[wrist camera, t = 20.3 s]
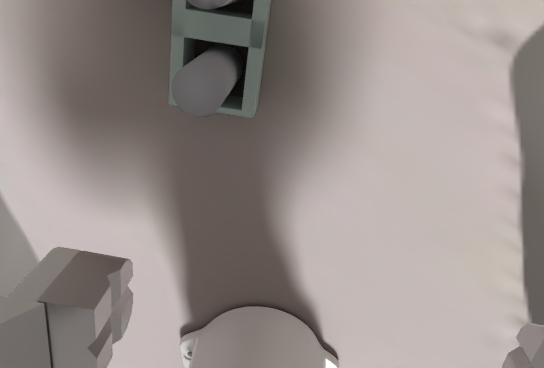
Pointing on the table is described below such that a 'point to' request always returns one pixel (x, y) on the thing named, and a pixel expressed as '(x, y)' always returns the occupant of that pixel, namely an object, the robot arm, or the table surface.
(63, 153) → the table surface
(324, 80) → the table surface
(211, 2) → the grey metal cylinder
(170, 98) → the rack
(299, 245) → the table surface
